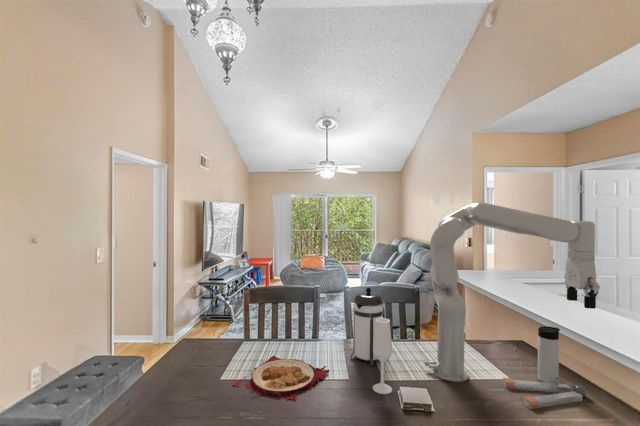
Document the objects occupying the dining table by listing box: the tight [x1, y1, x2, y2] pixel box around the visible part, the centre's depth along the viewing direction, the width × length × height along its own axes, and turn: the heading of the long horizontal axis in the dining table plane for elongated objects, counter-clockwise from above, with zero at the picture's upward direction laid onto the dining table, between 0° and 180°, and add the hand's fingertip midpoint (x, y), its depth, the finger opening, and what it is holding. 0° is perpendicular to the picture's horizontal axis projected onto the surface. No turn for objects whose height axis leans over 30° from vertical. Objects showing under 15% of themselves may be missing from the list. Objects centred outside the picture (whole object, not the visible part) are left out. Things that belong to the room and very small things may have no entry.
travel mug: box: [537, 325, 561, 384], centre depth 118 cm, size 6×7×20 cm
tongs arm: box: [522, 390, 583, 410], centre depth 106 cm, size 20×3×2 cm, turn 102°
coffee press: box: [350, 287, 386, 367], centre depth 138 cm, size 17×16×30 cm
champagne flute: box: [372, 317, 393, 395], centre depth 114 cm, size 7×7×24 cm
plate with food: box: [233, 355, 330, 403], centre depth 120 cm, size 25×26×4 cm
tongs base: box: [502, 377, 587, 399], centre depth 113 cm, size 25×5×3 cm, turn 80°
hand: (580, 304), depth 115 cm, fingers open, 9 cm apart
